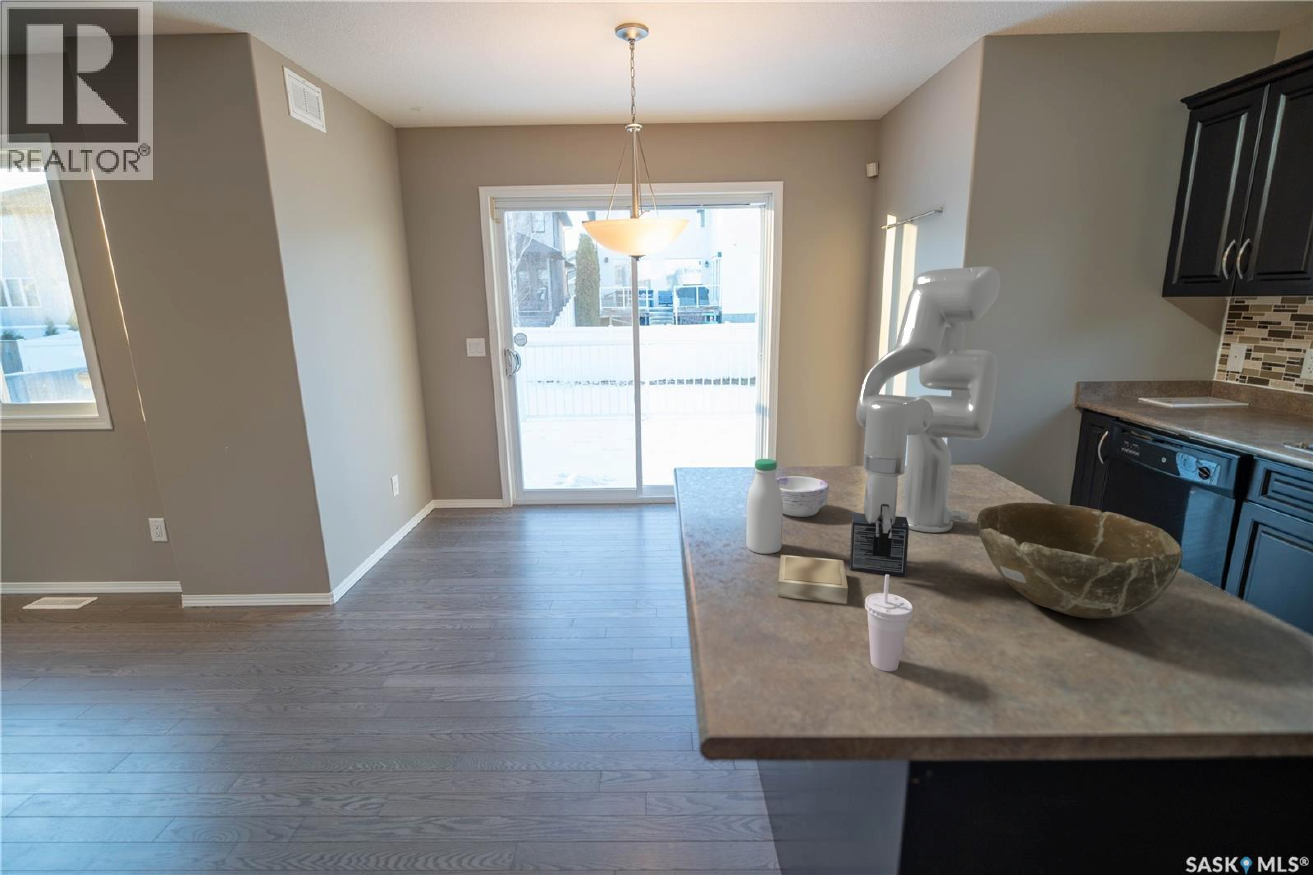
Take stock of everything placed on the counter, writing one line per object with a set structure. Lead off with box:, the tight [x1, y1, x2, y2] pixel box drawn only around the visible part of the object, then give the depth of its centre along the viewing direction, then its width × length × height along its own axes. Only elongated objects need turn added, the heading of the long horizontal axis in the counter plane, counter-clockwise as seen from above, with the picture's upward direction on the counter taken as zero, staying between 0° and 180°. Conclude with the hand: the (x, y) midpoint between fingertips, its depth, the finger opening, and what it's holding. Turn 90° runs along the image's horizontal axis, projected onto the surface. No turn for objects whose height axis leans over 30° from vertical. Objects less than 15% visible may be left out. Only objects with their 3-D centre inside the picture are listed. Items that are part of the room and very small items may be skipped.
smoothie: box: [864, 574, 914, 672], centre depth 80 cm, size 6×6×14 cm
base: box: [777, 554, 849, 605], centre depth 105 cm, size 12×12×3 cm
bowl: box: [976, 502, 1184, 620], centre depth 94 cm, size 28×27×15 cm
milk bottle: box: [745, 458, 784, 555], centre depth 121 cm, size 8×8×20 cm
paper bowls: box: [776, 475, 829, 518], centre depth 145 cm, size 15×15×8 cm
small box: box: [849, 512, 910, 577], centre depth 111 cm, size 11×6×10 cm, turn 71°
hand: (877, 546), depth 111 cm, fingers open, 9 cm apart
